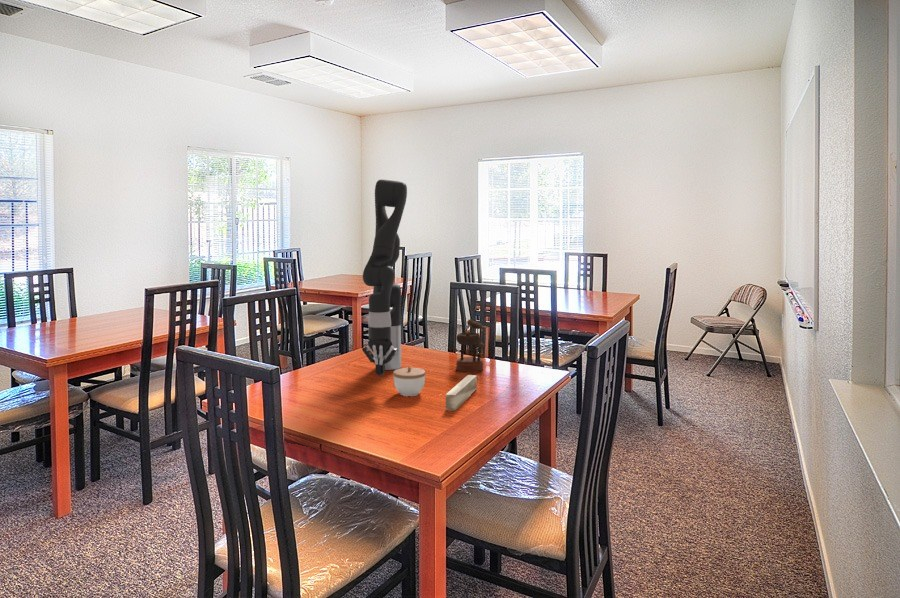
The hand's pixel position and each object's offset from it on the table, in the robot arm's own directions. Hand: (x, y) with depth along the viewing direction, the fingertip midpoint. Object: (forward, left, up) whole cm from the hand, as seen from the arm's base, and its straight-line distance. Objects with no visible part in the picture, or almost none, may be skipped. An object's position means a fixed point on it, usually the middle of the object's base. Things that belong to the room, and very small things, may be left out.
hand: (380, 374), depth 196 cm
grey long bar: (+29, 0, -6) cm, 30 cm away
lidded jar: (+11, 0, -6) cm, 12 cm away
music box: (+20, +38, -6) cm, 43 cm away
